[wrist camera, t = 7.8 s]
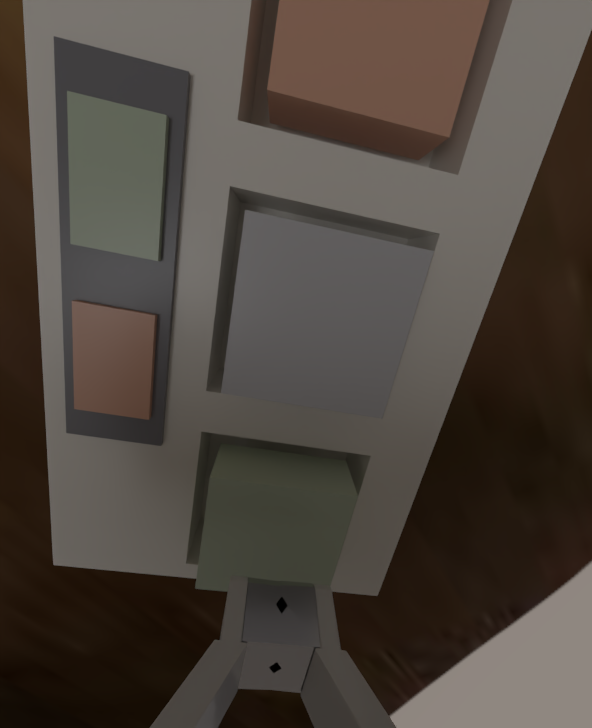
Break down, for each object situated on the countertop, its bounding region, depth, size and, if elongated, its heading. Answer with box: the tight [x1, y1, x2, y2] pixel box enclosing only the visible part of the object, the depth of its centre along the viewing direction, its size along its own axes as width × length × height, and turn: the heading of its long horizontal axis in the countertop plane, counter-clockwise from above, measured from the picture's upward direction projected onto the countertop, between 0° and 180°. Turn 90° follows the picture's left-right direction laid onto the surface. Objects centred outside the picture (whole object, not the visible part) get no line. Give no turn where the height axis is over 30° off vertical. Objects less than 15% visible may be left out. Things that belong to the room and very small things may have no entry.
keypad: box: [23, 0, 592, 596], centre depth 11 cm, size 24×14×4 cm, turn 169°
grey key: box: [221, 210, 434, 419], centre depth 10 cm, size 5×5×2 cm
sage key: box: [195, 443, 358, 592], centre depth 12 cm, size 5×5×2 cm
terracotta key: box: [267, 0, 490, 160], centre depth 8 cm, size 5×5×2 cm
